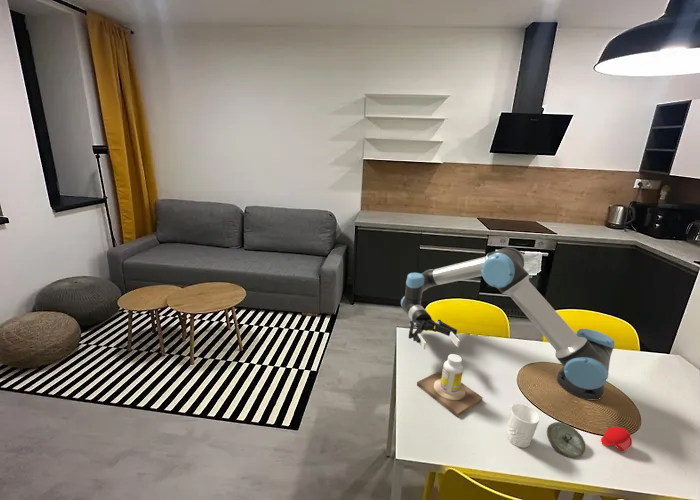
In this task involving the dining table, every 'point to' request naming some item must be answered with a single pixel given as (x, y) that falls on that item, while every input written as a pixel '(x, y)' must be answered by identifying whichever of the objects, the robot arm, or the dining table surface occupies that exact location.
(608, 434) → the cap
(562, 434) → the lid
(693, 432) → the dining table surface
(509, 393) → the dining table surface
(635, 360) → the dining table surface
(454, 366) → the supplement bottle
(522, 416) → the white cup
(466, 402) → the walnut board
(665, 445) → the dining table surface
